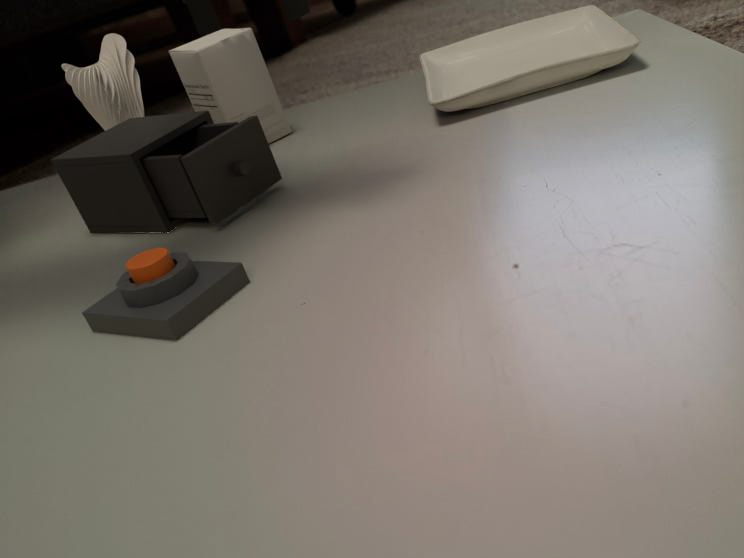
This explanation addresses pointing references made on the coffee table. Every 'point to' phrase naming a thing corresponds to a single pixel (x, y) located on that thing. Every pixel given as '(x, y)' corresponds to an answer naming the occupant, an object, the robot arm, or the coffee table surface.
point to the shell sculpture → (108, 84)
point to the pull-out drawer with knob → (212, 170)
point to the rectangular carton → (231, 80)
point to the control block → (167, 299)
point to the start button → (150, 265)
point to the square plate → (524, 58)
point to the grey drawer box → (123, 174)
